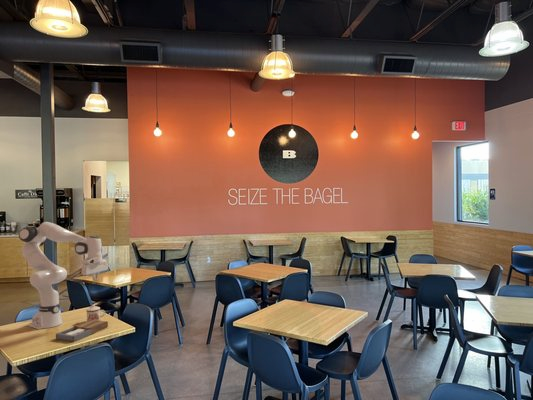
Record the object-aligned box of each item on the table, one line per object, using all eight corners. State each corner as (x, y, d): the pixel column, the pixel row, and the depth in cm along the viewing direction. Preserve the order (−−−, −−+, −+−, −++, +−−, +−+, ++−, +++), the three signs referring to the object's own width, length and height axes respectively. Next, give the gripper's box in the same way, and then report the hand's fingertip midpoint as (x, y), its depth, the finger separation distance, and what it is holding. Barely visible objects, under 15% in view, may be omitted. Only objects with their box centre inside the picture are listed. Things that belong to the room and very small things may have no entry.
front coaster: (72, 331, 235) (72, 335, 235) (65, 334, 231) (65, 338, 231) (77, 332, 233) (77, 336, 233) (70, 334, 229) (71, 338, 229)
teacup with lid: (86, 324, 257) (86, 307, 257) (86, 320, 266) (86, 304, 266) (105, 321, 263) (104, 305, 263) (104, 317, 271) (104, 302, 271)
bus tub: (56, 339, 230) (55, 333, 230) (73, 332, 242) (73, 326, 242) (73, 342, 225) (73, 336, 225) (91, 334, 237) (91, 329, 237)
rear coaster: (72, 335, 235) (72, 331, 235) (79, 332, 240) (79, 328, 240) (78, 336, 233) (78, 332, 233) (85, 333, 238) (85, 329, 238)
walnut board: (73, 332, 242) (73, 326, 242) (91, 325, 255) (90, 319, 255) (91, 334, 237) (91, 328, 237) (107, 327, 250) (107, 321, 250)
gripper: (103, 256, 269) (103, 275, 269) (79, 261, 250) (80, 281, 250) (109, 257, 267) (110, 276, 267) (86, 261, 248) (87, 282, 248)
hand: (95, 279), depth 258 cm, fingers closed
